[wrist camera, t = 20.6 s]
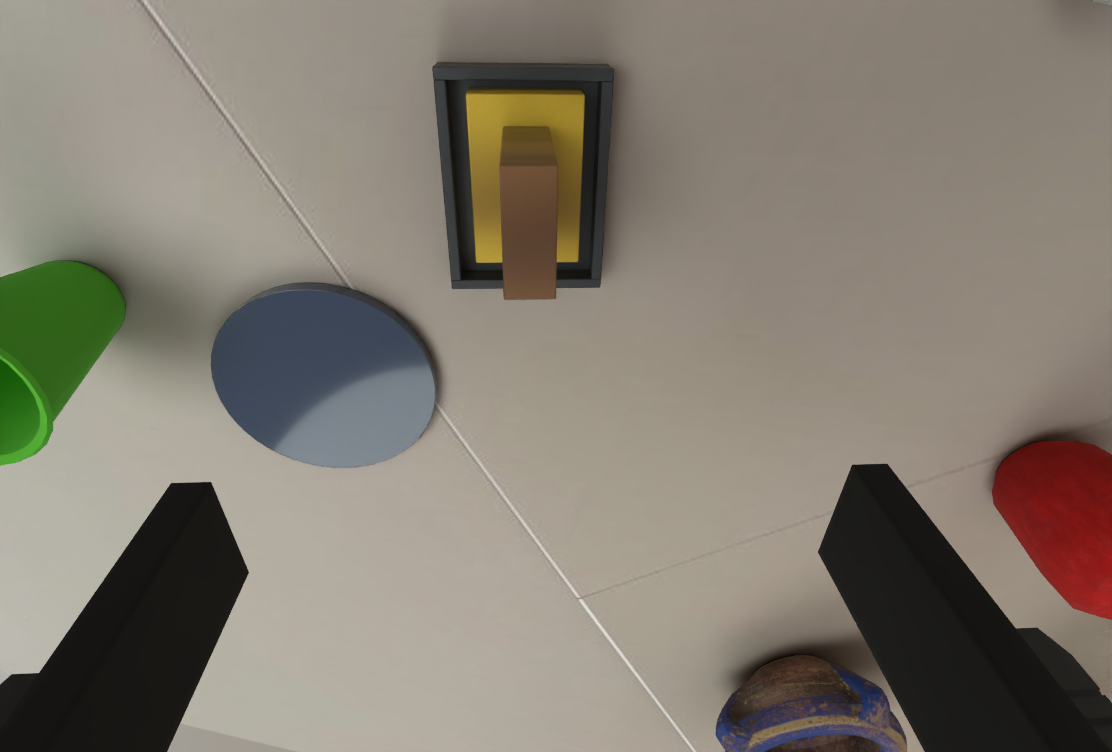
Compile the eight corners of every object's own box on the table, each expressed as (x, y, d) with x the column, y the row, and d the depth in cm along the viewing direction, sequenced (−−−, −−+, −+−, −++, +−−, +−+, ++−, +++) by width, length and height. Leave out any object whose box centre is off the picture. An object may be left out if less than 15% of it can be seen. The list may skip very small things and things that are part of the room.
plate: (186, 283, 37) (178, 290, 36) (425, 281, 38) (423, 288, 37) (250, 462, 45) (245, 470, 45) (445, 457, 46) (444, 465, 45)
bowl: (692, 655, 64) (718, 755, 55) (860, 614, 61) (914, 712, 53) (721, 730, 73) (747, 825, 65) (867, 697, 71) (914, 792, 63)
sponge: (468, 86, 31) (450, 124, 23) (580, 87, 32) (605, 125, 23) (478, 247, 36) (466, 329, 28) (574, 246, 37) (593, 328, 28)
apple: (1029, 517, 54) (1164, 656, 43) (941, 495, 52) (1060, 636, 41) (1122, 431, 49) (1305, 565, 38) (1029, 402, 47) (1194, 536, 35)
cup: (99, 378, 41) (-22, 492, 31) (-33, 275, 36) (-220, 373, 27) (191, 316, 38) (90, 419, 29) (63, 198, 34) (-105, 276, 25)
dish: (436, 62, 31) (432, 66, 29) (608, 64, 32) (614, 68, 30) (454, 275, 38) (451, 289, 36) (596, 274, 38) (600, 288, 37)
